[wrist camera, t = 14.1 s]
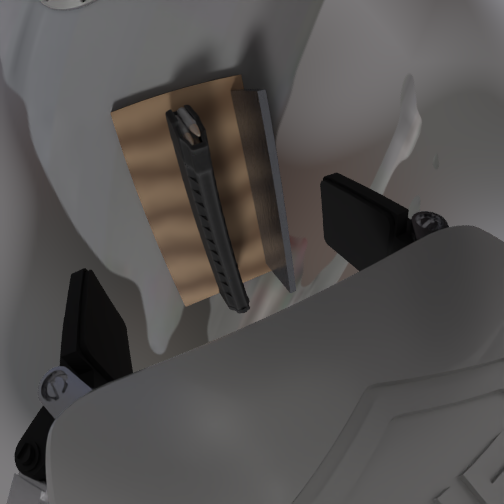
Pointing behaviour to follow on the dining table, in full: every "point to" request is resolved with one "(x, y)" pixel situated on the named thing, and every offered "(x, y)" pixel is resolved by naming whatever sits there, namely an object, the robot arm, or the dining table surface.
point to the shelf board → (173, 190)
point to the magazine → (206, 203)
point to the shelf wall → (265, 180)
